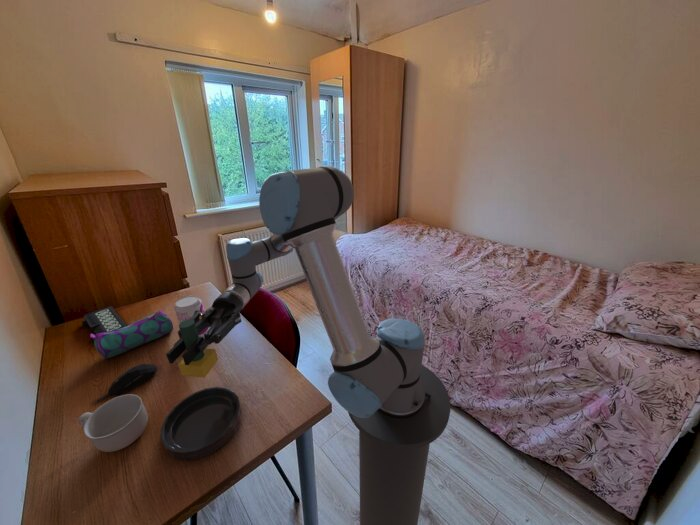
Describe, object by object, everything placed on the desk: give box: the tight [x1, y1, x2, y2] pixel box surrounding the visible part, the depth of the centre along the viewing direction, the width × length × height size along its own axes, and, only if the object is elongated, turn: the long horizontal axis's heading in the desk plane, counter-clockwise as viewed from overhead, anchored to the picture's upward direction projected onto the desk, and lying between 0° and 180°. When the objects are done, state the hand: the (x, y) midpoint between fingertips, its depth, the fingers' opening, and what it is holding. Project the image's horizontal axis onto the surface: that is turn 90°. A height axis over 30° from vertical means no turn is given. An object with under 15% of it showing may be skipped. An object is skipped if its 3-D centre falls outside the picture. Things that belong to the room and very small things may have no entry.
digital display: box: [81, 306, 128, 342], centre depth 107 cm, size 21×3×10 cm
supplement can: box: [174, 295, 210, 338], centre depth 98 cm, size 8×8×15 cm
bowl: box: [159, 386, 243, 462], centre depth 70 cm, size 17×17×4 cm
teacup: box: [77, 393, 149, 453], centre depth 67 cm, size 14×11×8 cm
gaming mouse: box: [96, 363, 158, 403], centre depth 82 cm, size 6×15×4 cm, turn 142°
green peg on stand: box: [177, 319, 219, 379], centre depth 68 cm, size 6×6×14 cm
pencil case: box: [89, 310, 174, 360], centre depth 96 cm, size 21×9×10 cm, turn 138°
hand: (177, 359), depth 63 cm, fingers closed on green peg on stand, 3 cm apart
